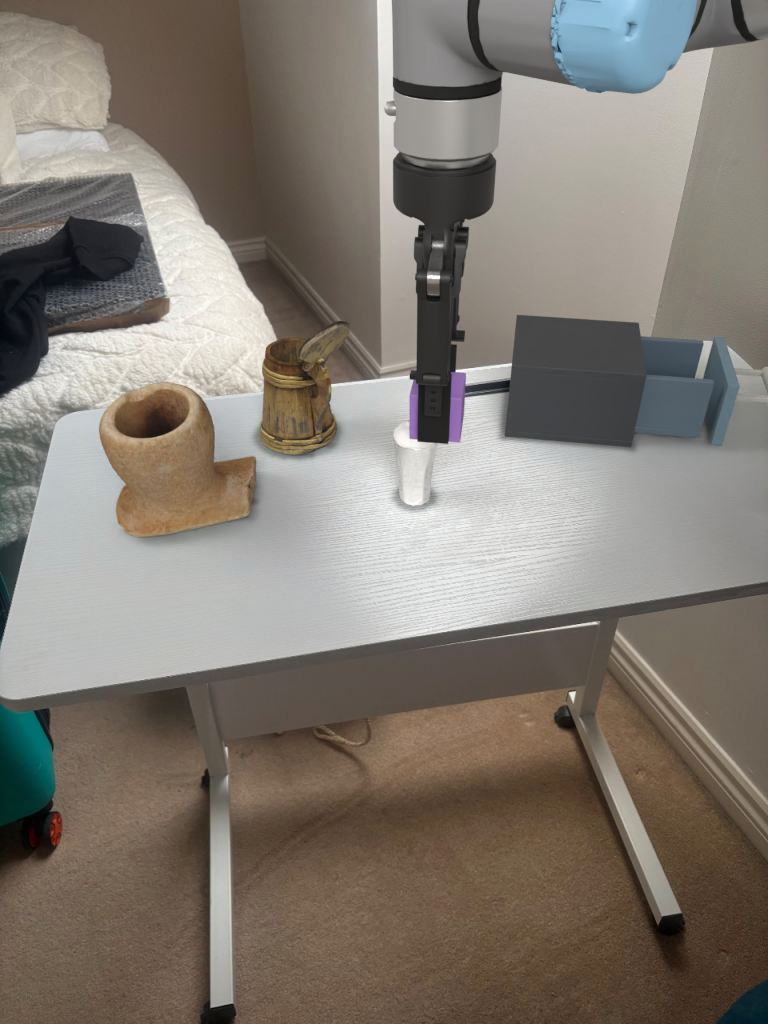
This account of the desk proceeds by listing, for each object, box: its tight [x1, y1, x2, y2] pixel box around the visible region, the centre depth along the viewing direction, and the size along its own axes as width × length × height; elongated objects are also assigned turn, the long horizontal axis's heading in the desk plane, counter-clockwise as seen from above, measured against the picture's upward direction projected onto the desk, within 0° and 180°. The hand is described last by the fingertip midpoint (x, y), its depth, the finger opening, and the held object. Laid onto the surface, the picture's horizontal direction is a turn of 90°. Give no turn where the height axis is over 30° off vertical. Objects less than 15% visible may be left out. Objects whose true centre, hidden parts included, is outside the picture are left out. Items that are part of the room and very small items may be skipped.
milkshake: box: [393, 420, 438, 507], centre depth 87 cm, size 5×5×10 cm
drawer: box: [634, 335, 768, 446], centre depth 97 cm, size 19×11×8 cm, turn 80°
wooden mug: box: [259, 320, 351, 456], centre depth 92 cm, size 9×14×18 cm, turn 39°
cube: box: [408, 371, 467, 443], centre depth 73 cm, size 4×4×4 cm
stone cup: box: [98, 381, 257, 538], centre depth 83 cm, size 15×12×15 cm
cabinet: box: [504, 314, 647, 448], centre depth 99 cm, size 15×13×10 cm
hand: (436, 423), depth 75 cm, fingers closed on cube, 4 cm apart
